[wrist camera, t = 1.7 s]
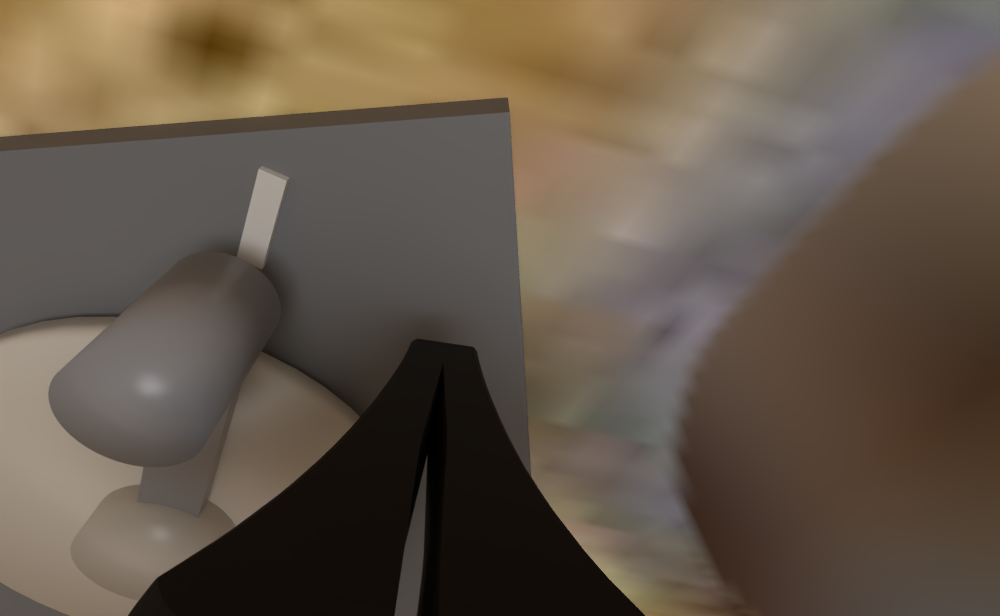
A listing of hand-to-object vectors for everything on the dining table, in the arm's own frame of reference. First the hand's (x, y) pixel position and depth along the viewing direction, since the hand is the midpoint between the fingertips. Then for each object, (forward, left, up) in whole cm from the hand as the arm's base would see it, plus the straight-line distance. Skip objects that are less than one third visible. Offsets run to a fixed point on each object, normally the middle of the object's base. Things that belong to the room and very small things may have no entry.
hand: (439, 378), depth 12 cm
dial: (-5, +8, -2) cm, 10 cm away
